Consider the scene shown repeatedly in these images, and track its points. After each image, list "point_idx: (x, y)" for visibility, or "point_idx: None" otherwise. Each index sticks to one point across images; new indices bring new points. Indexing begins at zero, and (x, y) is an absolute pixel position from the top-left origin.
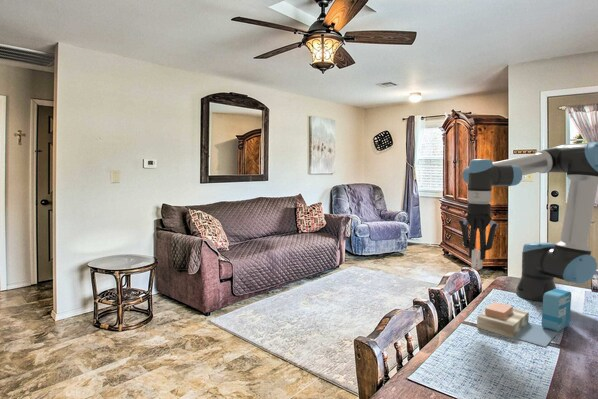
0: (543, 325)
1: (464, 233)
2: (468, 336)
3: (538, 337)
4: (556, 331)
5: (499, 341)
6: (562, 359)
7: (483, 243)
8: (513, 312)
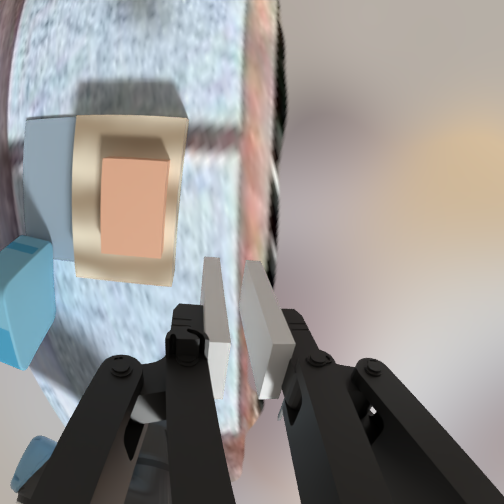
0: (45, 240)
1: (451, 467)
2: (195, 40)
3: (43, 166)
4: None
5: (116, 66)
6: (3, 85)
7: (166, 419)
8: None
